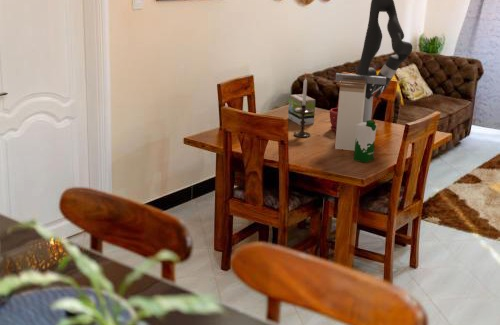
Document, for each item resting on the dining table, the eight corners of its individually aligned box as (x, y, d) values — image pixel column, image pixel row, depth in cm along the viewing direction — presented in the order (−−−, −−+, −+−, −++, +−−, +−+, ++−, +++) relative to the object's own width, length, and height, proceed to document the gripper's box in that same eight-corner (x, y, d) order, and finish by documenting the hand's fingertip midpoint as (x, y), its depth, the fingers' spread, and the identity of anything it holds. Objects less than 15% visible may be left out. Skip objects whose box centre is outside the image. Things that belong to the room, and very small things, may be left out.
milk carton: (366, 163, 329) (370, 124, 323) (350, 159, 335) (354, 120, 328) (375, 159, 336) (379, 120, 329) (359, 155, 341) (363, 117, 335)
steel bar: (385, 83, 355) (386, 76, 354) (385, 84, 352) (386, 78, 351) (336, 79, 360) (336, 72, 359) (335, 80, 357) (335, 74, 356)
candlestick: (301, 139, 365) (305, 74, 353) (287, 134, 373) (291, 71, 361) (315, 136, 371) (320, 72, 360) (302, 131, 379) (306, 69, 368)
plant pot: (351, 128, 390) (353, 107, 386) (352, 134, 378) (354, 113, 374) (328, 126, 391) (330, 106, 387) (328, 132, 379) (330, 112, 375)
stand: (361, 138, 371) (367, 77, 360) (358, 151, 349) (364, 86, 338) (339, 136, 373) (344, 75, 362) (334, 148, 351) (340, 84, 340)
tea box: (287, 118, 404) (288, 94, 400) (301, 117, 408) (303, 93, 404) (299, 125, 391) (300, 100, 387) (314, 124, 396) (316, 99, 391)
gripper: (388, 69, 372) (373, 93, 380) (374, 70, 362) (359, 94, 370) (398, 77, 369) (383, 101, 377) (384, 78, 358) (369, 103, 367)
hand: (371, 97), depth 374 cm, fingers open, 8 cm apart
